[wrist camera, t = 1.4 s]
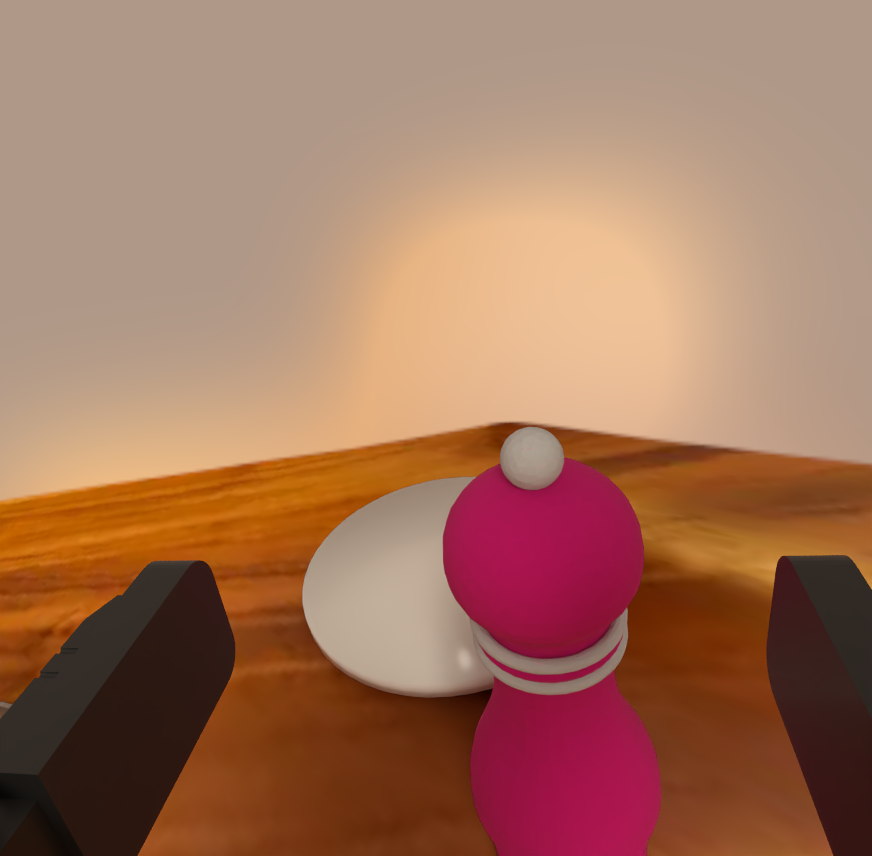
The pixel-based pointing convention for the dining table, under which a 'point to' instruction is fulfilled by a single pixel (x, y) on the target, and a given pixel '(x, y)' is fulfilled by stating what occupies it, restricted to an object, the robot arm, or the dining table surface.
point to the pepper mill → (553, 654)
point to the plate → (394, 598)
